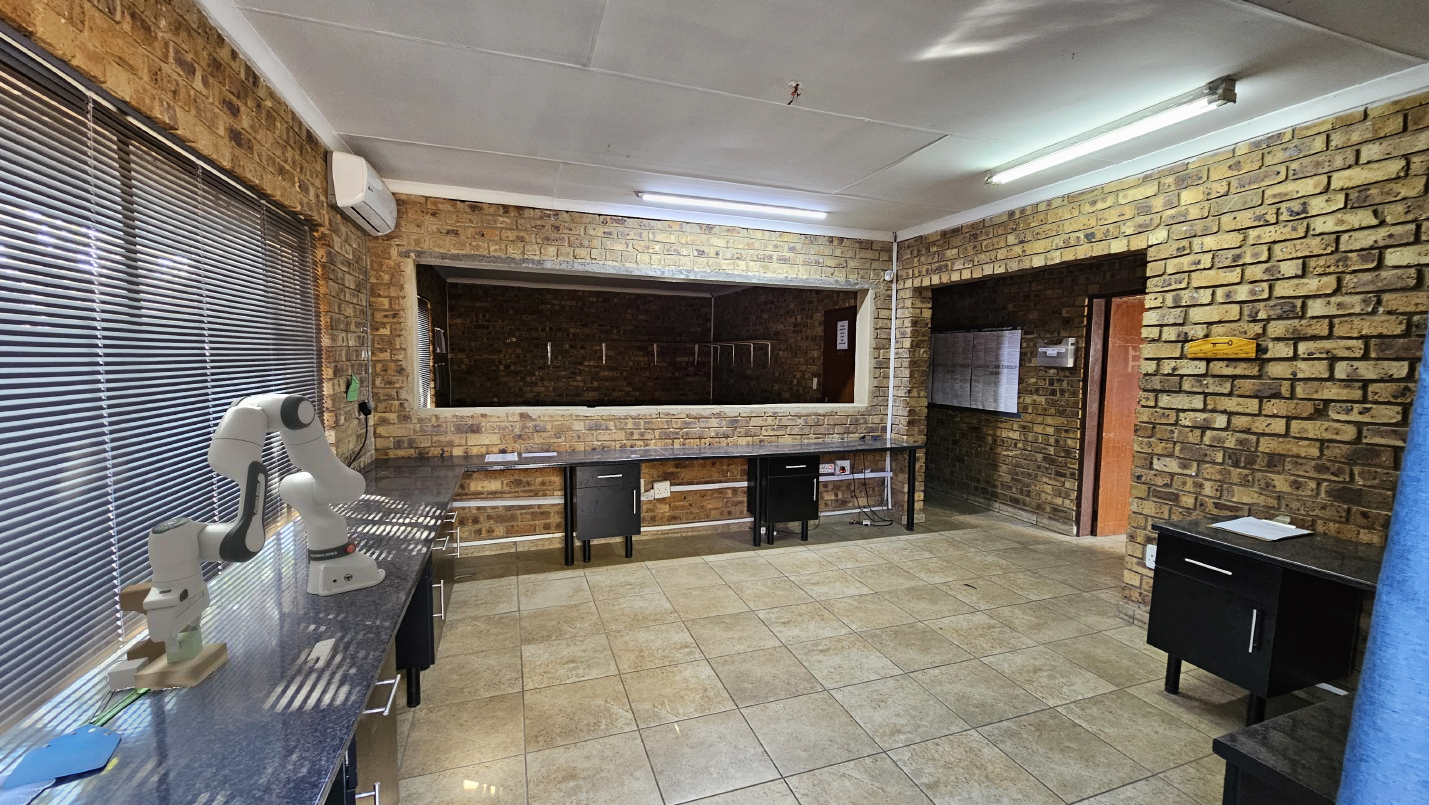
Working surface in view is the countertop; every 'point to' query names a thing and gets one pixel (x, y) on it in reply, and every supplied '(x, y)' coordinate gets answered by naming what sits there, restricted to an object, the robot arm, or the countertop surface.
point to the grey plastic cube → (126, 673)
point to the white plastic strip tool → (321, 652)
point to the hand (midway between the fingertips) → (185, 641)
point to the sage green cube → (186, 647)
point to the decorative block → (133, 601)
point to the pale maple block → (181, 669)
